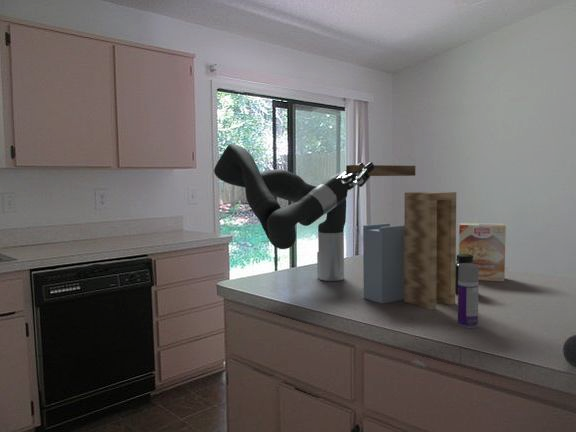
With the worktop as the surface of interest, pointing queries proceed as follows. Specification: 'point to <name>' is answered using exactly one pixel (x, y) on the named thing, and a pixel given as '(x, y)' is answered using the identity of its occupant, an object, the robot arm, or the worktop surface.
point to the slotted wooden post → (430, 248)
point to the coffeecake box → (484, 248)
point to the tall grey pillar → (383, 262)
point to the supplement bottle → (460, 259)
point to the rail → (384, 170)
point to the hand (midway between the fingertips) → (367, 165)
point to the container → (468, 295)
